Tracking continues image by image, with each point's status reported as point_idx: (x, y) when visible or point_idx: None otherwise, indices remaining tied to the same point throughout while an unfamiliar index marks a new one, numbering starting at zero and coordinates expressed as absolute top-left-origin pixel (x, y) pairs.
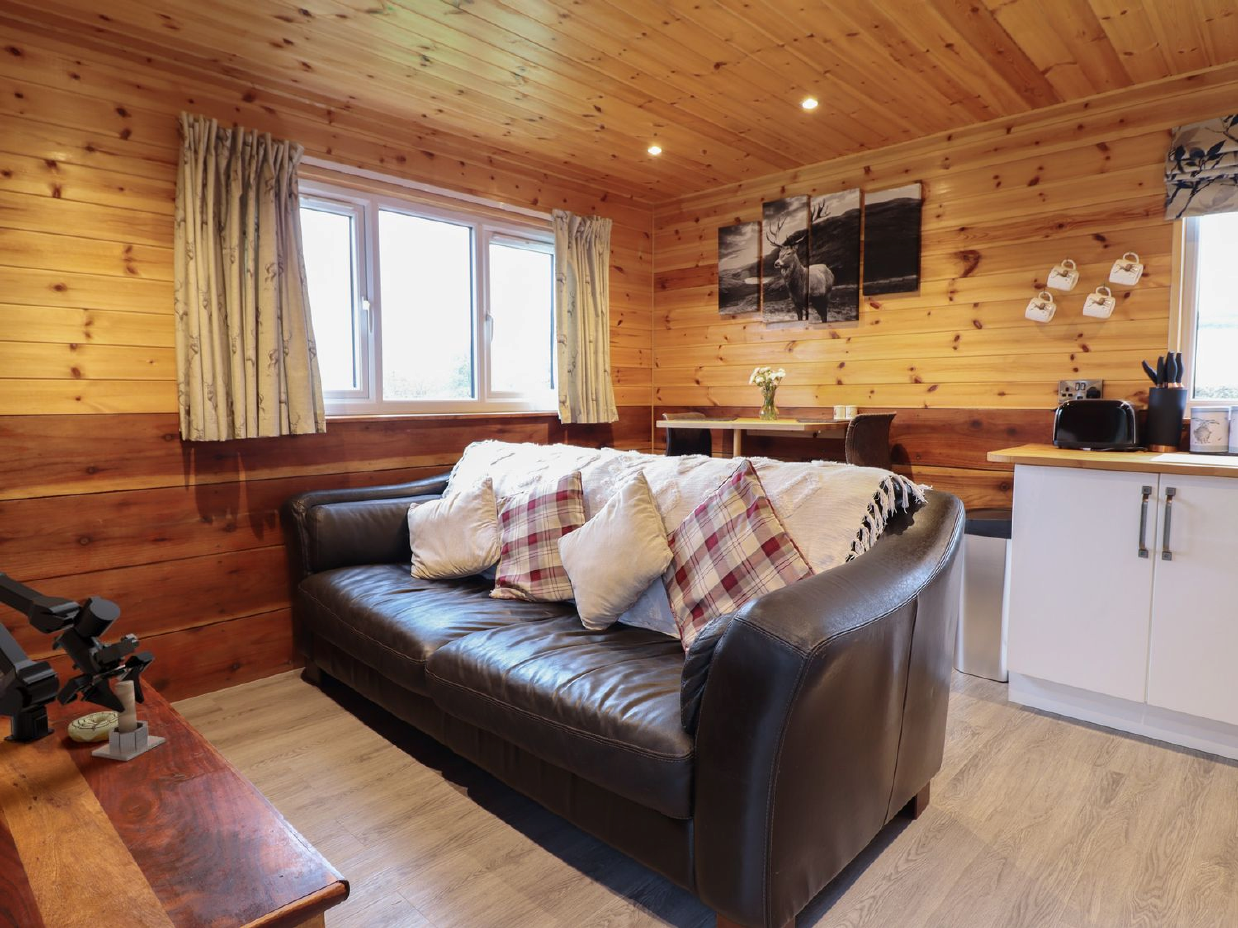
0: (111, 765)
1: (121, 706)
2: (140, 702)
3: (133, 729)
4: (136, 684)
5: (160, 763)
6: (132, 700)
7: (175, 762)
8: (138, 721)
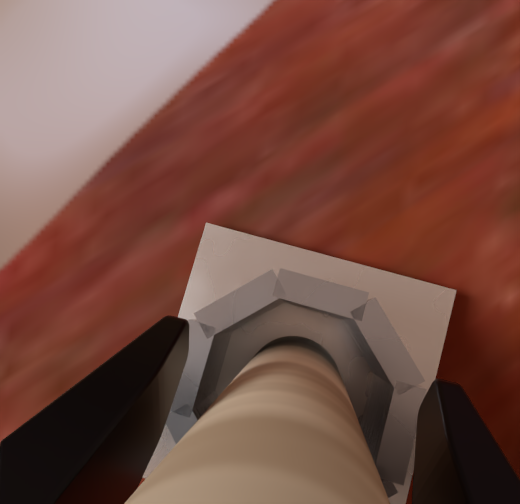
0: (505, 345)
1: (471, 420)
2: (186, 354)
3: (307, 349)
4: (22, 499)
5: (466, 96)
6: (284, 390)
7: (450, 29)
8: (184, 390)
